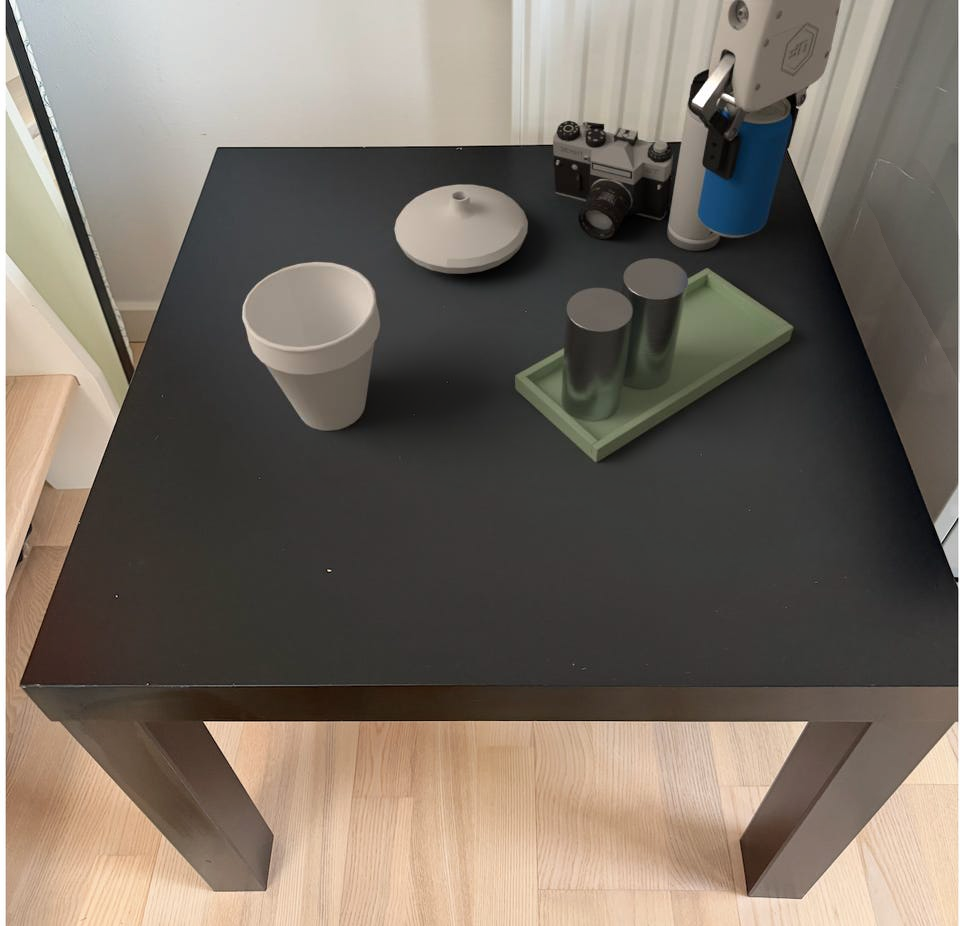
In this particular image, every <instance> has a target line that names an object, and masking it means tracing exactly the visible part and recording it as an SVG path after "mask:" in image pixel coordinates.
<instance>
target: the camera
mask: <svg viewBox="0 0 960 926" xmlns="http://www.w3.org/2000/svg"><path fill="white" fill-rule="evenodd" d="M552 146H553V149H552V150H553V167H554V187H555V188H554V189H555V194H556V195H558V196H559V195H560V196H563V197H566V198H571V199H575V200H578V201H582V202H583V204H582V205H581V207H580V210H579V211H578V215H577V217H578V219H577V221H578V224H579V227H580V228H581V230H583V232H584V233H586V234H587V235H588V236H590V237H592V238H594V239H598V240H606V239H609V238H611V237H613V236H614V235H616V233H617V231H618V230H619V229H620V227H621V225H622V223H623V220H624V219H625V218H626V216H627V215H638V216H641V217H646V218H650V219H654V220H657V221H662V220H663V219H664V218H665V216H666V215H667V213H668V212H669V210H670V208H671V195H672V185H673V175H674V174H673V173H674V171H673V170H672V169H673V159H674V154H673V148H672V146H671V145H670V144H669V143H667V141H664V140H662V139H659V140H657V141H655V142H650V141H647V140H643V139H639V130H632V129H631V130H630V129H625V128H622V127H621V126H620V125H618V126H617V128H616V130H615V132H614V133H611V132H607V131H605V123H597V122H591V121H590V122H589V121H583V122H582V124H581V125H579V124H578V123H577V122H576V121H571V120H566V121H563V122H561V123H560V124H559V125H558V127H557V129H556V131H555V134H554V135H553V137H552Z"/></svg>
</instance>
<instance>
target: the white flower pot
mask: <svg viewBox="0 0 960 926" xmlns="http://www.w3.org/2000/svg"><path fill="white" fill-rule="evenodd" d="M376 296H377V295H376V291H375V288H374V287H373V285H372V283H371V281H370V280H369V279H367V278H366V276H364V275H363V274H362V273H361V272H359V271H357V270H356V269H353V268H351V267H349V266H347V265H343V264H340V263H334V262H327V261H325V262H323V261H312V262H303V263H297V264H293V265H290V266H286V267H282V268H281V269H279V270H277V271H275V272H272V273H270V274H269V275H267V276H265V277H264V278H263V279H261V280H260V281H259V282H258V283H256V284H255V285H254V287H252V289H251V290H250V291H249V293H248V294H247V295H246V298H245V300H244V302H243V304H242V316H241V317H242V319H241V320H242V322H243V324H244V327H245V330H246V335H247V340H248V343H249V346H250V349H251V351H252V353H253V354H254V355H255V357H257V359H258V360H259V361H260V362H261V363H263V364H264V365H265V366H266V368H267V370H268V371H269V373H270V374H271V376H272V377H273V379H274V380H275V381H276V383H277V385H278V386H279V388H280V389H281V391H282V392H283V394H284V395H285V397H286V398H287V400H288V401H289V402H290V404H291V406H292V407H293V409H294V410H295V412H296V413H297V415H298V416H299V418H300V419H301V420H302V421H303V422H304V424H306V426H308V427H309V428H312V429H314V430H318V431H325V432H326V431H327V432H331V431H332V432H333V431H338V430H342V429H344V428H347V427H349V426H351V425H352V424H355V423H356V422H357V421H358V419H360V417H362V414H363V413H364V410H365V407H366V402H367V394H368V389H369V382H370V374H371V368H372V360H373V356H374V355H373V354H374V349H375V348H374V347H375V341H376V340H377V339H378V336H379V332H380V328H381V319H380V313H379V308H378V305H377V297H376Z"/></svg>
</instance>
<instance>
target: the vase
mask: <svg viewBox="0 0 960 926" xmlns="http://www.w3.org/2000/svg"><path fill="white" fill-rule="evenodd" d="M528 222H529V220H528V219H527V216H526V213H525V211H524V210H523V208H521V206H520V205H519V204H518V203H517V202H516V201H515V200H514V199H513V198H512V197H510V196H509V195H507V194H505V193H504V192H502V191H499V190H497V189H494V188H492V187H489V186H483V185H477V184H451V185H443V186H440V187H436V188H433V189H429V190H428V191H425V192H424V193H422V194H419V195H418V196H416V197H414V198H413V199H412V200H411V201H409V203H407V204H406V205H405V207H403V209H401V212H400V213H399V215H398V216H397V218H396V220H395V225H394V228H393V231H394V234H395V239H396V242H397V243H398V245H399V247H400V249H401V250H402V251H403V253H404V254H405V256H406V257H407V258H409V259H410V260H411V261H412V262H414V263H415V264H416V265H418V266H421V267H423V268H426V269H428V270H429V271H435V272H438V273H444V274H455V275H456V274H459V275H460V274H461V275H465V274H473V273H480V272H484V271H487V270H490V269H493V268H496V267H498V266H500V265H501V264H504V263H505V262H507V261H509V260H510V259H512V258H513V256H514V255H515V254H517V252H518V251H519V250H520V249H521V247H522V245H523V243H524V241H525V239H526V236H527V234H528V226H529V225H528V224H529V223H528Z"/></svg>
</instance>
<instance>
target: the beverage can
mask: <svg viewBox="0 0 960 926" xmlns="http://www.w3.org/2000/svg"><path fill="white" fill-rule="evenodd" d="M731 93H732V94H733V92H731ZM734 109H735V106H733V105H731V104H729V103H728V102H727V104H726V106H725V108H724V111H723V113H722V114H724V116H725V117H726V118H727V119H728V120H730V118H731V116H732V113H733V111H734ZM790 109H791V105H790V103H789V101H788V100H787V99H786V98H783V99H781V100H779V101H777V102H775V103H773V104H771V105H769V106H767V107H764V108H762V109H760V110H757V111H754V112H747V114H746V116H745V118H744V120H743V122H742V124H741V127H740V129H739V131H738V133H737V136H739V137H740V138H741V142H740V146H739V151H738V156H737V160H736V165H735V170H734V174H733V177H732V178H730V179H728V180H725V179H723V178H721V177H720V176H718V175H716V174H715V173H713V172H711V171H710V170H708V169H706V171H705V176H704V181H703V187H702V192H701V197H700V202H699V208H698V217H699V219H700V221H701V222H702V223H703V224H704V225H705V226H706V227H707V228H709V229H710V230H711V231H712V232H714V233H716V234H718V235H720V237H725V238H732V239H733V238H735V239H737V238H744V237H747V236H750V235H752V234H755V233H757V232H759V231H761V230H762V229H763V228H764V227H765V225H767V222H768V219H769V218H768V217H769V214H770V211H771V206H772V203H773V198H774V195H775V191H776V188H777V183H778V180H779V176H780V173H781V168H782V164H783V160H784V156H785V153H786V150H787V149H786V145H787V141H788V138H789V134H790V130H791V126H792V116H791V114H790ZM785 149H786V150H785Z"/></svg>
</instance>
